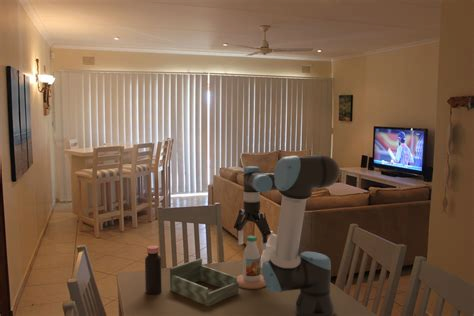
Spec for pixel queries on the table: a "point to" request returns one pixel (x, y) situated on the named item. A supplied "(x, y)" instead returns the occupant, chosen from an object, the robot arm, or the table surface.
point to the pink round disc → (251, 283)
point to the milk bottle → (251, 261)
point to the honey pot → (268, 248)
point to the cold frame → (195, 271)
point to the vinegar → (153, 270)
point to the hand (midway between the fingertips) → (251, 247)
